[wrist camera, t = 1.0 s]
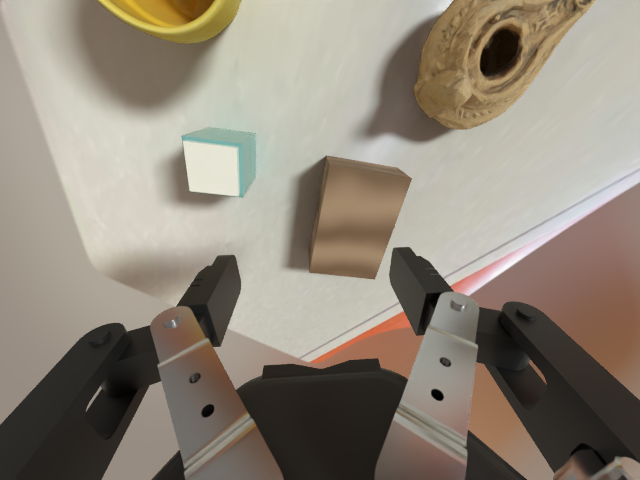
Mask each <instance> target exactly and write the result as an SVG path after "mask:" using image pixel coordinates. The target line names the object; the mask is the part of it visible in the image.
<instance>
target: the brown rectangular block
mask: <svg viewBox="0 0 640 480" xmlns="http://www.w3.org/2000/svg"><path fill="white" fill-rule="evenodd" d="M411 180H412V178H410V177H409V176H408V175H406V174H405V173H404V172H402V171H401V170H400V169H398V168H396V167H390V166H384V165H378V164H373V163H367V162H361V161H355V160H349V159H343V158H338V157H332V156H326V161H325V166H324V172H323V177H322V183H321V188H320V194H319V199H318V205H317V211H316V216H315V222H314V227H313V233H312V238H311V244H310V249H309V272H310V273H319V274H329V275H338V276H348V277H357V278H367V279H375V277H376V275H377V272H378V269H379V267H380V264H381V261H382V258H383V256H384V253H385V250H386V248H387V245H388V242H389V239H390V237H391V234H392V231H393V229H394V226H395V223H396V220H397V218H398V215H399V212H400V210H401V207H402V204H403V201H404V199H405V196H406V193H407V191H408V188H409V185H410V182H411Z"/></svg>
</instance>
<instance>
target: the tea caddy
mask: <svg viewBox="0 0 640 480" xmlns="http://www.w3.org/2000/svg"><path fill="white" fill-rule="evenodd" d="M182 142H183V149H184V157H185V164H186V171H187V179H188V186H189V192H196V193H205V194H214V195H223V196H232V197H242V198H243V197H244V195H245V194H246V192H247V190H248V189H249V187H250V186H251V184H252V182H253V181H254V179H255V178H256V133H249V132H242V131H235V130H228V129H220V128H213V127H208V128H205V129H201V130H198V131H195V132H192V133H189V134H185V135H182Z"/></svg>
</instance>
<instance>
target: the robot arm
mask: <svg viewBox="0 0 640 480" xmlns="http://www.w3.org/2000/svg"><path fill="white" fill-rule="evenodd" d="M389 277H390V283H391V286H392V288H393V290H394V292H395V294H396V296H397V298H398V300H399V302H400V304H401V306H402V308H403V310H404V312H405V314H406V316H407V318H408V320H409V322H410V324H411V326H412V328H413V330H414V332H415V334H416V335H424V338H423V341H422V343H421V346H420V349H419V352H418V354H417V357H416V360H415V363H414V365H413V368H412V371H411V374H410V376H409V379H407V378H405V377H404V376H402V375H400V374H398V373H396V372H393V371H391V370H387V369H383V368H381V367H380V364H379V360H378V359H361V360H349V361H346V362H343V363H340V364H337V365H334V366H331V367H327V368H324V369H317V368H312V367H307V366H301V365H295V364H282V365H266V366H264V368H263V374H262V376H259V377H257V378H254V379H252V380H250V381H248V382H247V383H245V384H244V385H242V386H241V387H239V388H238V389H237V390H236V389H235V388H234V386H233V384H232V382H231V380H230V378H229V376H228V374H227V372H226V371H225V369H224V367H223V365H222V363H221V361H220V359H219V357H218V355H217V354H216V352H215V350H214V348H213V347H220V346H221V343H222V341H223V338H224V335H225V332H226V330H227V327H228V324H229V321H230V319H231V316H232V313H233V311H234V308H235V305H236V302H237V300H238V297H239V294H240V291H241V279H240V275H239V270H238V266H237V261H236V257H235V256H234V255H220V256H217V258H216V259H215V261H214V263H213V264H212V266H207V267H205V268H204V269H203V270H201V271H200V272H199V273H198V274H197V276H196V277H195V279H194V281H193V282H192V283H191V285H190V287H189V288H188V289H187V291H186V292H185V294H184V295H183V297H182V298H181V300H180V301H179V303H178V304H177V306H176V307H173V308H170V309H168V310H165V311H163V312H162V313H160V314H159V315H158V316H156V318H154V320H153V321H152V322H151V325H150V326H146V327H142V328H139V329H135V330H131V331H128V332H127V331H126V329H125V327H124V326H123V325H122V324H120V323H111V324H106V325H103V326H100V327H98V328H96V329H93V330H92V331H90V332H88V333H87V334H85V335H84V336H83V337H82V338H81V339H79V341H78V342H77V343H76V344H75V345H74V346H73V347H72V348H71V349H70V350H69V351H68V352H67V354H65V356H64V357H63V358H62V359H61V360H60V361H59V362H58V363H57V364H56V365H55V366H54V368H53V369H52V370H51V371H50V372H49V373H48V374H47V375H46V376H45V377H44V378H43V379H42V381H41V382H40V383H39V384H38V385H37V386H36V387H35V388H34V389H33V390H32V391H31V392H30V393H29V394H28V396H27V397H26V398H25V399H24V400H23V401H22V402H21V403H20V404H19V405H18V407H16V409H15V410H14V411H13V412H12V413H11V414H10V415H9V416H8V417H7V418H6V419H5V420H4V422H3V423H2V424H1V425H0V480H101V479H102V477H103V475H104V473H105V471H106V470H107V468H108V466H109V464H110V462H111V460H112V458H113V456H114V454H115V452H116V450H117V448H118V446H119V444H120V442H121V440H122V438H123V436H124V434H125V432H126V430H127V428H128V427H129V425H130V423H131V421H132V419H133V417H134V415H135V413H136V411H137V409H138V407H139V405H140V403H141V401H142V399H143V397H144V395H145V393H146V391H147V389H148V387H149V385H151V384H154V383H157V382H160V381H162V385H163V389H164V392H165V396H166V400H167V404H168V408H169V411H170V415H171V419H172V423H173V426H174V430H175V434H176V438H177V441H178V445H179V449H180V450H179V451H178V452H177V453H176V454H175V455H174V456H173V457H172V458H171V459H170V460H169V461H168V462H167V464H166V465H165V466H164V467H163V468H162V469H161V470H160V471H159V472H158V473H157V474H156V476H154V477H153V479H152V480H527V479H526V478H524V477H523V476H522V475H521V474H520V473H518V472H517V471H516V470H515V469H514V468H513V467H511V466H510V465H509V464H508V463H507V462H506V461H504V460H503V459H502V458H501V457H500V456H498V455H497V454H496V453H495V452H494V451H493V450H491V449H490V448H489V447H488V446H487V445H486V444H484V443H483V442H482V441H481V440H480V439H479V438H477V437H476V436H475V435H474V434H473V433H471V432H470V431H469V430H468V425H469V417H470V408H471V400H472V392H473V383H474V376H475V367H476V362H478V363H483V364H485V366H486V368H487V369H488V370H489V372H490V374H491V375H492V377H493V378H494V380H495V381H496V383H497V385H498V386H499V388H500V389H501V391H502V392H503V394H504V396H505V397H506V399H507V400H508V402H509V403H510V405H511V406H512V408H513V409H514V411H515V413H516V414H517V416H518V417H519V419H520V420H521V422H522V423H523V425H524V427H525V428H526V430H527V431H528V433H529V434H530V436H531V438H532V439H533V441H534V442H535V444H536V445H537V447H538V448H539V450H540V452H541V453H542V455H543V456H544V458H545V459H546V461H547V462H548V464H549V466H550V467H551V469H552V470H553V472H554V473H555V474H554V477H553V480H640V400H639V399H638V398H637V397H635V396H634V395H633V394H632V393H631V392H630V391H629V390H628V389H627V388H626V387H624V386H623V385H622V384H621V383H620V382H619V381H618V380H617V379H616V378H614V377H613V376H612V375H611V374H610V373H609V372H608V371H607V370H606V369H605V368H604V367H602V366H601V365H600V364H599V363H598V362H597V361H596V360H595V359H594V358H593V357H591V356H590V355H589V354H588V353H587V352H586V351H585V350H584V349H582V347H580V346H579V345H578V344H577V343H576V342H575V341H574V340H573V339H572V338H571V337H569V336H568V335H567V334H566V333H565V332H564V331H563V330H562V329H561V328H560V327H558V326H557V325H556V324H555V323H554V322H553V321H552V320H551V319H550V318H549V317H547V316H546V315H545V314H544V313H543V312H541V311H540V310H538V309H537V308H535V307H533V306H530V305H528V304H524V303H521V302H507V303H505V304H504V305H503V308H502V310H501V311H498V310H492V309H486V308H481V307H479V306H478V304H477V303H476V302H475V301H474V300H473V299H472V298H470V297H468V296H466V295H464V294H461V293H458V292H454V291H453V290H452V289H451V287H450V286H449V285H448V284H447V282H446V281H445V280H444V279H443V278H442V276H441V275H439V273H438V272H437V270H436V269H434V267H433V266H432V264H431V263H430V262H429V261H427V260H426V259H424V258H423V257H421V256H416V255H415V253H414V252H413V251H412V249H411V248H410V247H399V248H394V249H393V251H392V258H391V266H390V273H389ZM530 360H532V362H533V363H534V364H535V365H536V366H537V367H538V368H539V370H540V371H541V372H542V374H543V375H544V377H545V379H546V382H547V385H546V384H545V383H544V382H543V380H542V379H541V377H540V376H539V375H538V374H537V373H536V372H535V370H534V369H533V368H532V367H531V365H530V364H529V361H530ZM100 386H101V388H102V390H101V391H100V392H99V394H98V395H97V397H96V398H95V400H94V401H93V403H92V404H91V406H90V407H89V408H88V410H87V412H86V408H87V406H88V404H89V402H90V400H91V399H92V397H93V396H94V394H95V393H96V391H97V390H98V388H99V387H100Z"/></svg>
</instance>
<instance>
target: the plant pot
mask: <svg viewBox="0 0 640 480" xmlns="http://www.w3.org/2000/svg"><path fill="white" fill-rule="evenodd" d="M97 1H98V2H99V3H100V4H101V5H102V6H103V7H104V8H106V9H107V10H108V11H109V12H110V13H112V14H113V15H114V16H116V17H117V18H119V19H120V20H122V21H123V22H125V23H127V24H128V25H130V26H132V27H134V28H136V29H138V30H140V31H143V32H145V33H147V34H150V35H153V36H155V37H158V38H161V39H164V40H168V41H172V42H177V43H198V42H202V41H205V40H208V39H210V38H212V37H214V36H216V35H217V34H218V33H220V32H221V31H222V30H223V29H224V28H225V27H226V26H227V25H229V24H230V23H231V22H232V20H233V19H234V17H235V16H236V14H237V11H238V9H239V5H240V3H241V0H97Z"/></svg>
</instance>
